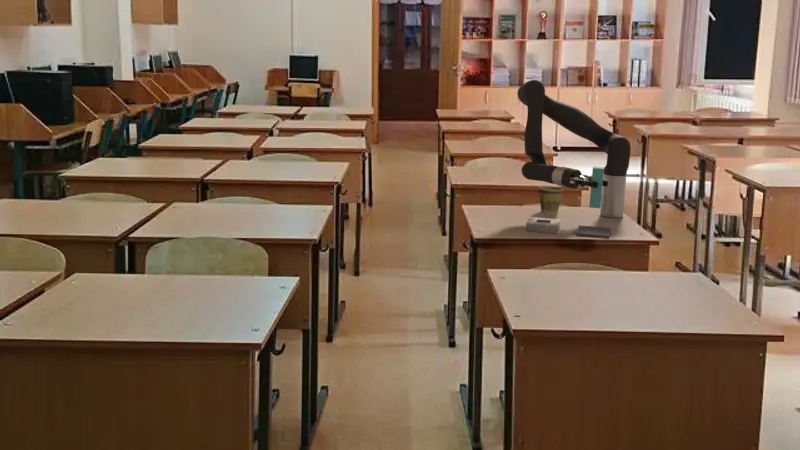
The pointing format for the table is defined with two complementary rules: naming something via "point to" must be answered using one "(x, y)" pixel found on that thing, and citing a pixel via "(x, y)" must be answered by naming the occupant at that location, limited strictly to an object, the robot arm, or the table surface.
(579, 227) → the rubber mat
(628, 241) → the table surface
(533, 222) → the socket block
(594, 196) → the teal peg
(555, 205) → the ceramic cup
